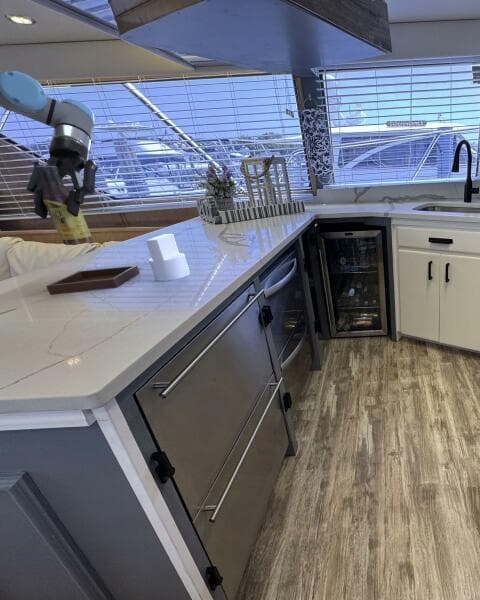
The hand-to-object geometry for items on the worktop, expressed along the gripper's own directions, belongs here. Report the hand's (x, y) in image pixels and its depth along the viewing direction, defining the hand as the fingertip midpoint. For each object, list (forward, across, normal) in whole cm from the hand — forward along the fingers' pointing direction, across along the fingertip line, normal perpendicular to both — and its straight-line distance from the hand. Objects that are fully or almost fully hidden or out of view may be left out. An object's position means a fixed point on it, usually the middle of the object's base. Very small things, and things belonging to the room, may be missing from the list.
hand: (56, 214), depth 83 cm
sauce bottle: (+4, 0, -9) cm, 9 cm away
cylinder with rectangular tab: (+12, -20, -17) cm, 29 cm away
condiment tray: (+11, 0, -18) cm, 21 cm away
